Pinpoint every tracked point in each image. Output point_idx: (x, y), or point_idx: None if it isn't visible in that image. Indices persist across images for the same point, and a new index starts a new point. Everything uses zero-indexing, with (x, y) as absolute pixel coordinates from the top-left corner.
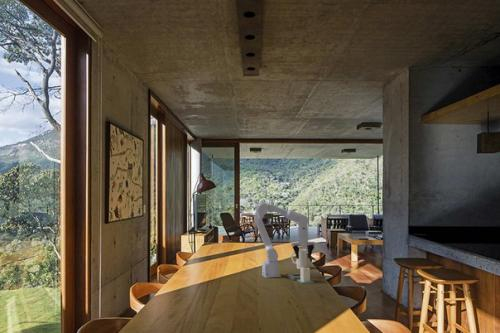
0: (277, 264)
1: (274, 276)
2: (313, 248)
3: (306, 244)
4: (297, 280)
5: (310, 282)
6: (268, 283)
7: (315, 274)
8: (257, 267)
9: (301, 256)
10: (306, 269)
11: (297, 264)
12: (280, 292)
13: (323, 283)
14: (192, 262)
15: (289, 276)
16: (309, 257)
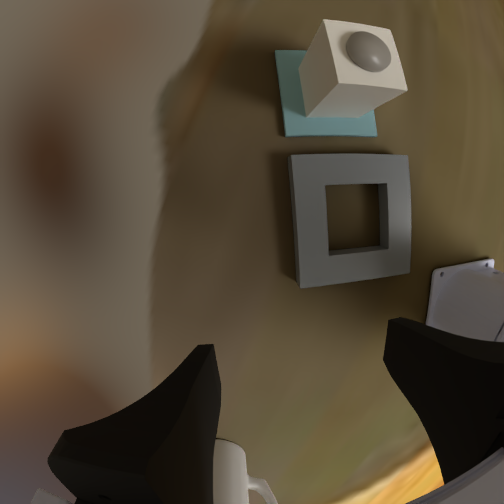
0: (495, 306)
1: (464, 265)
2: (87, 424)
3: (467, 487)
4: (374, 131)
5: (301, 52)
6: (500, 144)
7: (169, 300)
8: (408, 458)
9: (221, 500)
10: (356, 27)
11: (245, 468)
12: (458, 2)
13: (216, 24)
14: None
15: (408, 221)
16: (212, 351)
